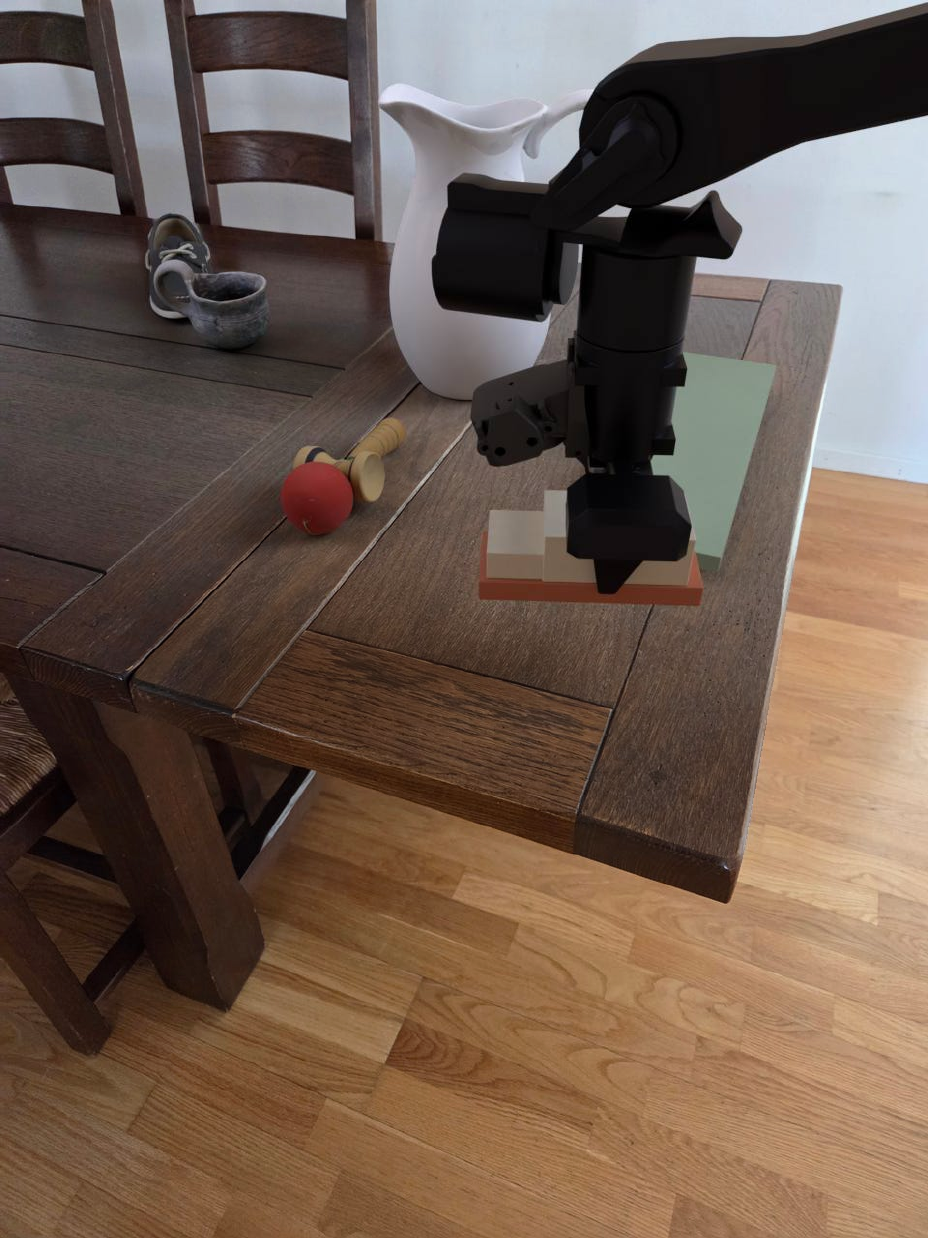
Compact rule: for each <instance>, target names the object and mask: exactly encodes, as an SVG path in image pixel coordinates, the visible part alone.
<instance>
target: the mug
mask: <svg viewBox="0 0 928 1238" xmlns="http://www.w3.org/2000/svg"><path fill="white" fill-rule="evenodd" d="M169 272H174V273H177V274H179V275H181V277H182V278H183V280H184V282H185V285H186V287H187V290H188V293H189V296H190V300H191V302H190V303H183V302H181V301H179V300H177V299H176V298H175V297H174V296H172V294H171V293H170V292H169V291H168V290H167V288H166V287H165V285H164V282H163V277H164V275H165V274H167V273H169ZM267 285H268V283H267V279H266V278H264V277H263V276H262V275H260V274H257V273H252V272H246V271H245V272H244V271H224V272H219V273H216V274H215V273H211V274H196V273H194V272H193V271H192V269H191V268H190V267H189V266H188V265H187V264H186V263H185V262H183V261H180V260H168V261H165V262H163V263H162V264H161V265H160V266H159V267H158V268H157V270H156V272H155V275H154V287H155V290H156V292H157V294H158V296H159V297H160V299H161V300H162V301H163V302H164V303H165V304H166V305H167V306H169V307H170V308H171V309H173V310H174V311H176V312H178V313H180V314H182V315H183V316H186V317H185V318H188V319H189V321H190V323H191V324H192V327H193V329H194V331H195V332H196V333H197V335H198V336H199V337H200V338H201V339H202V340H203V341H205V342H206V343H208V344H210V345H212V346H215V347H219V348H222V349H227V350H236V349H242V348H244V347H247V346H249V345H250V344H253V343H255V342H257V341H258V340H260V339H261V338H262V337H263V336H264V335H265V333H266V332H267V330H268V328H269V323H270V319H271V309H270V304H269V301H268V300H267V297H266V290H267Z"/></svg>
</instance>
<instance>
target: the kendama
mask: <svg viewBox="0 0 928 1238" xmlns="http://www.w3.org/2000/svg"><path fill="white" fill-rule="evenodd" d="M406 438H407V432H406V428H405V426H404V424H403V423H402V422H401V421H400V420H399V419H397V418H395V417H386V418H384V419H382V420H381V421H380V422H378V424H377V425H376V426H375V427H374V428H373V429H372V431H371V432H369V433H368V434H367V435H366V436H365V437H364V438H363V439H361V441H360V442H358V444H357V445H356V446H355V447H354V448H353V449H352V451H351V452H350V453H349V454H348V456H347V457H346V459H334V458H333V457H331V456H330V455H329V453H328V452H327V450H326V449H325V448H323V447H321V446H318V445H306V446H303V447H301V448H300V449H299V450H298V452H297V454H296V456H295V458H294V461H293V465H292V470H291V471H290V472H289V473H288V475H286V477H285V479H284V481H283V483H282V486H281V489H280V503H281V507H282V508H281V509H282V510H283V513H284V515H285V516H286V518H287V519H288V521H289V522H290V523H291V524H292V525H293V526H294V527H296V528H297V529H299V530H301V531H303V532H305V533H308V534H311V535H313V536H318V535H322V534H327V533H330V532H332V531H335V530H337V529H338V528H339V527H341V526H342V525H343V524H344V523H345V522H346V521H347V520H348V518H349V516H350V515H351V512H352V509H353V505H354V499H355V500H356V501H357V502H358V503H361V504H362V503H363V504H370V503H371V504H373V503H375V502H376V501H378V499H379V498H380V497H381V494H382V492H383V490H384V485H385V475H386V474H385V468H384V467H385V466H384V463H383V460H382V458H384V457H386V456H387V455H388V454H390V453H391V452H393V451H394V450H396V449H398V448H400V447H401V446H402V445H403V444H404V443H405V441H406Z"/></svg>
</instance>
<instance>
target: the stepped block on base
mask: <svg viewBox="0 0 928 1238" xmlns="http://www.w3.org/2000/svg"><path fill="white" fill-rule="evenodd" d="M543 492H544V493H543V509H542V510H515V509H490V510H489V519H488V520H489V521H488V531H483V532H482V536H481V537H482V538H481V550H480V559H479V560H480V561H479V572H478V573H479V574H478V599H479V600H487V601H488V600H491V601H517V602H518V601H521V602H522V601H523V602H554V603H587V604H616V605H618V604H620V605H621V604H622V605H646V606H647V605H652V606H681V607H682V606H684V607H700V606H701V603H702V598H703V593H704V584H703V580H702V575H701V569H699V566H698V562H697V557H696V553H695V545H696V537H695V533H694V529H693V524H692V520H691V516H690V520H691V524H692V529H691V534H690V540H689V545H688V550H687V555H686V556H685V557H683V558H682V559H680V560H679V561H677V562H673V561H643V562H642V563H641V564H640V565H639V566H638V567H637V569H636V570H635V571H634V572H633V573H632V575H631V576H630V577H629V578H628V579H627V581H626V582H625V583H624V584H623V585H622V587H621V588H620V589H619V590H618V591H617V592H616V593H615V594H600V593H598V590H597V583H596V576H595V569H594V562H593V559H577V558H575V557H574V556H572V555H570V554H569V553H567V550H566V525H565V523H566V506H565V503H566V497H567V489H566V490H561V489H560V490H559V489H544V491H543ZM684 494H685V493H684ZM685 498H686V495H685ZM686 502H687V499H686ZM687 507H688V503H687ZM688 511H689V507H688ZM689 515H690V512H689Z"/></svg>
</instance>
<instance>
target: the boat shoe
mask: <svg viewBox="0 0 928 1238" xmlns="http://www.w3.org/2000/svg"><path fill="white" fill-rule="evenodd" d="M147 240H148V241H147V242H148V245H147V246H148V247H147V251H146V253H145V258H144V261H145V263H144V264H145V268H146V269H147V270H149V272H148V283H149V303H150V306H151V309H152V310H153V311H154V312H155V313H156V314H157V315H159V316H161V317H164V318H168V319H182V318H187V317H186V316H183V315H182V314H180V313H178V312H176V311H174V310H173V309H171V308H170V307H169V306H167V305H166V304H165V303H164V302H163V301H162V300H161V299H160V297H159V296H158V294H157V292H156V290H155V287H154V275H155V272H156V270H157V268H158V267H159V266H160V265H161V264H162V263H163V262H165V261H168V260H180V261H183V262H185V263H186V264H187V265H188V266H189V267H190V268H191V269H192V271H193V272H194V273H196V274H212V271H211V267H210V263H209V260H210V259H211V253H210V249H209V247H208V245H207V244H206V243H205V242H204V241H203V238H202V236H201V234H200V230H199V228H198V227H197V225H196V224H195V223H194V222H193V221H190V219H189V218H187V217H186V216H184V215H182V214H180V213H172V212H169V213H165V214H163V215H161V216H160V217H159V218H157V219H156V220H155V221H154V224H153V226H152V227H151V228H150V230H149V233H148V235H147ZM163 282H164V285H165V287H166V288H167V290H168V291H169V292H170V293H171V294H172V296H174V297H175V298H176V299H177V300H179V301H181V302H183V303H190V302H191V300H190V296H189V293H188V290H187V287H186V285H185V282H184V280H183V278H182V277H181V275H179V274H177V273H174V272H169V273H167V274H165V275H164V277H163Z"/></svg>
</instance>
